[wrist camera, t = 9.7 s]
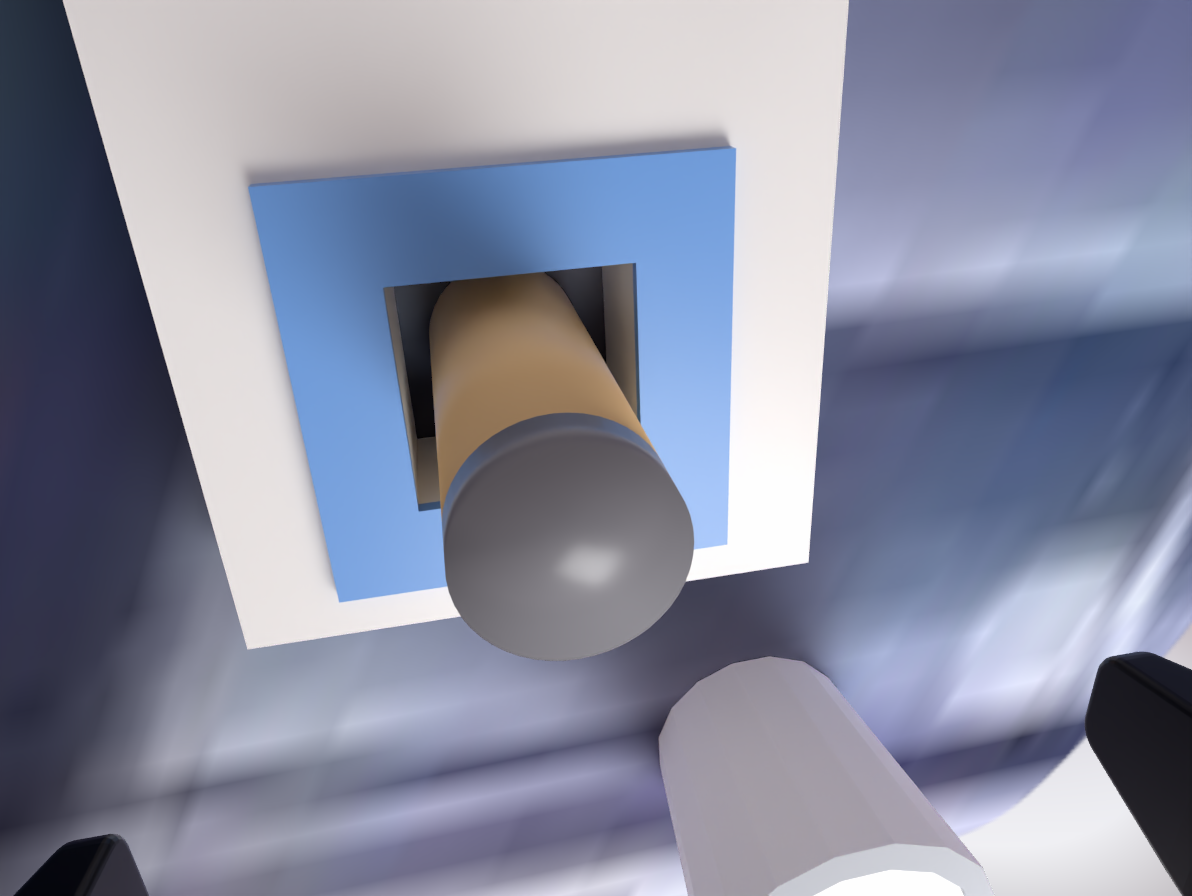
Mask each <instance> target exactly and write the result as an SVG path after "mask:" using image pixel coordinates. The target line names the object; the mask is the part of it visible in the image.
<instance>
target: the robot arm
mask: <svg viewBox="0 0 1192 896" xmlns="http://www.w3.org/2000/svg"><path fill="white" fill-rule="evenodd" d="M1085 731H1086V736H1087V738H1088V741H1089V744H1090V746H1091V748H1092V749H1093V751H1094V753H1095V754H1096V756H1097V757H1098V759H1099V761H1100V763H1101V764H1102V766H1103V768H1104V769H1105V771H1106V773H1107V774H1108V776H1109V777H1110V779H1111V780H1112V782H1113V784H1114V786H1115V787H1116V789H1117V791H1118V792H1119V794H1120V795H1121V797H1122V799H1123V801H1124V802H1125V804H1126V806H1127V807H1128V809H1129V810H1130V812H1131V814H1132V815H1133V817H1134V819H1135V820H1136V822H1137V824H1138V825H1139V827H1140V828H1141V830H1142V832H1143V833H1144V835H1145V837H1146V838H1147V840H1148V842H1149V843H1150V845H1151V847H1152V848H1153V850H1154V852H1155V853H1156V855H1157V857H1158V858H1159V860H1160V862H1161V863H1162V865H1163V866H1164V868H1165V870H1166V871H1167V873H1168V874H1169V876H1170V877H1171V879H1172V881H1173V882H1174V884H1175V885H1176V887H1177V888H1178V890H1179V891H1180V893H1181V894H1182V896H1192V670H1191V669H1189V668H1186V667H1184V666H1182V665H1179V664H1177V663H1174V662H1172V661H1170V660H1167V659H1165V658H1163V657H1160V656H1158V655H1156V654H1153V653H1149V652H1134V653H1129V654H1123V655H1117V656H1112V657H1109V658H1106V659H1105V660H1104V661H1103V662H1102V663H1101V664H1100V666H1099V668H1098V671H1097V674H1096V678H1095V682H1094V686H1093V689H1092V693H1091V697H1090V701H1089V704H1088V708H1087V712H1086V716H1085ZM14 896H149V895H148V892H147V890H146V887H145V885H144V882H143V880H142V878H141V875H140V873H139V870H138V868H137V866H136V863H135V861H134V858H133V856H132V853H131V851H130V849H129V846H128V844H127V843H126V841H125V839H124V838H122V837H121V836H120V835H118V834H108V835H102V836H97V837H91V838H85V839H80V840H74V841H71V842H69V843H66V844H65V845H63V846H62V847H61V848H59V849H58V850H57V851H56V852H55V853H54V854H53V855H52V856H51V857H50V858H49V859H48V860H47V861H46V862H45V863H44V864H43V865H42V866H41V867H40V868H39V870H38V871H37V872H36V873H35V874H34V875H33V876H32V877H31V878H30V879H29V880H28V881H27V882H26V883H25V884H24V885H23V886H22V887H21V888H20V889H19V890H18V891H17V892H16V894H15V895H14Z"/></svg>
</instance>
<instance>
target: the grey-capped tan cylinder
mask: <svg viewBox="0 0 1192 896" xmlns="http://www.w3.org/2000/svg"><path fill="white" fill-rule="evenodd" d="M429 340H430V355H431V370H432V385H433V400H434V414H435V429H436V444H437V459H438V474H439V489H440V504H441V518H442V533H443V548H444V563H445V577H446V582H447V587H448V591H449V594H450V596H451V599H452V601H453V604H454V606H455V607H456V609H457V611H458V612H459V614H460V616H461V617H462V618H463V620H464V621H465V622H466V623H467V624H468V626H469V627H470V628H471V629H472V630H473V631H475V632H476V633H477V634H478V635H479V636H480V637H482V638H483V639H485V640H486V641H488V642H489V643H491V644H492V645H494V646H496V647H498V648H500V649H502V650H504V651H506V652H509V653H512V654H515V655H518V656H522V657H526V658H531V659H537V660H547V661H566V660H574V659H582V658H586V657H591V656H595V655H598V654H601V653H604V652H607V651H610V650H612V649H615V648H617V647H619V646H621V645H624V644H625V643H627V642H629V641H631V640H632V639H634V638H636V637H638V636H639V635H640V634H642V633H643V632H644V631H646V630H647V629H649V628H650V627H651V626H652V625H653V624H654V623H655V622H656V621H658V620H659V619H660V618H661V617H662V616H663V615H664V613H665V612H666V611H667V610H668V609H669V608H670V607H671V605H672V604H673V602H674V601H675V599H676V598H677V597H678V595H679V593H680V591H681V589H682V588H683V586H684V584H685V582H686V579H687V576H688V574H689V571H690V568H691V563H692V559H693V553H694V530H693V525H692V520H691V516H690V513H689V510H688V508H687V505H686V503H685V501H684V499H683V498H682V496H681V494H680V492H679V491H678V489H677V487H676V485H675V484H674V482H673V480H672V478H671V477H670V475H669V473H668V471H667V470H666V468H665V466H664V464H663V463H662V461H661V459H660V457H659V456H658V454H657V452H656V450H655V449H654V447H653V445H652V443H651V442H650V440H649V438H648V436H647V435H646V433H645V431H644V429H643V428H642V426H641V424H640V422H639V421H638V419H637V417H636V415H635V414H634V412H633V410H632V408H631V407H630V405H629V403H628V401H627V400H626V398H625V396H624V394H623V393H622V391H621V389H620V388H619V386H618V384H617V382H616V381H615V379H614V377H613V375H612V374H611V372H610V370H609V368H608V367H607V365H606V363H605V361H604V360H603V358H602V356H601V354H600V353H599V351H598V349H597V347H596V346H595V344H594V342H593V340H592V339H591V337H590V335H589V333H588V332H587V330H586V328H585V326H584V325H583V323H582V321H581V319H580V318H579V316H578V314H577V312H576V311H575V309H574V307H573V305H572V304H571V302H570V300H569V299H568V297H567V295H566V294H565V292H564V291H563V289H562V288H561V287H560V286H559V284H558V283H557V282H555V281H554V280H553V279H552V278H551V277H550V276H548V275H547V274H546V273H544V272H536V273H526V274H516V275H506V276H496V277H486V278H475V279H465V280H455V281H452V282H451V283H450V284H449V285H448V286H447V287H446V288H445V289H444V291H443V292H442V294H441V295H440V296H439V298H438V300H437V302H436V304H435V306H434V309H433V312H432V315H431V320H430V326H429Z"/></svg>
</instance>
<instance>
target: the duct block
mask: <svg viewBox="0 0 1192 896" xmlns="http://www.w3.org/2000/svg"><path fill="white" fill-rule="evenodd" d="M63 3H64V7H65V10H66V14H67V17H68V21H69V24H70V28H71V31H72V35H73V38H74V42H75V45H76V49H77V52H78V56H79V59H80V63H81V66H82V70H83V73H84V77H85V80H86V84H87V87H88V91H89V94H90V98H91V101H92V105H93V108H94V112H95V115H96V119H97V122H98V126H99V129H100V133H101V136H102V140H103V143H104V147H105V150H106V154H107V157H108V161H109V164H110V168H111V171H112V175H113V178H114V182H115V185H116V189H117V192H118V196H119V199H120V203H121V206H122V210H123V213H124V217H125V220H126V224H127V227H128V231H129V234H130V238H131V241H132V245H133V248H134V252H135V256H136V259H137V263H138V266H139V270H140V273H141V277H142V280H143V284H144V287H145V291H146V294H147V298H148V301H149V305H150V308H151V312H152V315H153V319H154V322H155V326H156V329H157V333H158V336H159V340H160V343H161V347H162V350H163V354H164V357H165V361H166V364H167V368H168V371H169V375H170V378H171V382H172V385H173V389H174V392H175V396H176V399H177V403H178V406H179V410H180V413H181V417H182V420H183V424H184V427H185V431H186V434H187V438H188V441H189V445H190V448H191V452H192V455H193V459H194V462H195V466H196V469H197V473H198V476H199V480H200V483H201V487H202V490H203V494H204V497H205V501H206V504H207V508H208V511H209V515H210V518H211V522H212V526H213V529H214V533H215V536H216V540H217V543H218V547H219V550H220V554H221V557H222V561H223V564H224V568H225V571H226V575H227V578H228V582H229V585H230V589H231V592H232V596H233V599H234V603H235V606H236V610H237V613H238V617H239V620H240V624H241V627H242V631H243V634H244V638H245V641H246V645H247V648H248V649H253V648H260V647H266V646H273V645H279V644H286V643H292V642H299V641H305V640H312V639H318V638H324V637H331V636H337V635H344V634H350V633H357V632H363V631H370V630H376V629H383V628H389V627H395V626H402V625H408V624H415V623H421V622H428V621H434V620H441V619H447V618H454V617H460V614H459V612H458V611H457V609H456V607H455V606H454V604H453V601H452V599H451V596H450V594H449V591H448V587H447V582H446V577H445V563H444V548H443V533H442V518H441V504H440V489H439V474H438V459H437V444H436V437H428V438H420V439H417V435H416V429H415V422H414V416H413V410H412V403H411V397H410V390H409V384H408V377H407V371H406V364H405V358H404V352H403V345H402V339H401V332H400V326H399V319H398V313H397V306H396V300H395V293H394V286H404V285H414V284H425V283H435V282H445V281H455V280H465V279H475V278H486V277H496V276H506V275H516V274H526V273H536V272H547V271H557V270H567V269H577V268H587V267H597V266H602V278H603V300H604V321H605V343H606V365H607V367H608V368H609V370H610V372H611V374H612V375H613V377H614V379H615V381H616V382H617V384H618V386H619V388H620V389H621V391H622V393H623V394H624V396H625V398H626V400H627V401H628V403H629V405H630V407H631V408H632V410H633V412H634V414H635V415H636V417H637V419H638V421H639V422H640V424H641V426H642V428H643V429H644V431H645V433H646V435H647V436H648V438H649V440H650V442H651V443H652V445H653V447H654V449H655V450H656V452H657V454H658V456H659V457H660V459H661V461H662V463H663V464H664V466H665V468H666V470H667V471H668V473H669V475H670V477H671V478H672V480H673V482H674V484H675V485H676V487H677V489H678V491H679V492H680V494H681V496H682V498H683V499H684V501H685V503H686V505H687V508H688V510H689V513H690V516H691V520H692V525H693V530H694V553H693V559H692V563H691V568H690V571H689V574H688V576H687V579H686V581H692V580H699V579H705V578H712V577H718V576H725V575H731V574H737V573H744V572H750V571H757V570H763V569H770V568H776V567H783V566H789V565H795V564H802V563H808V560H809V546H810V533H811V519H812V505H813V491H814V477H815V463H816V449H817V435H818V421H819V408H820V394H821V380H822V366H823V352H824V338H825V324H826V310H827V296H828V282H829V269H830V255H831V241H832V227H833V213H834V199H835V185H836V171H837V157H838V144H839V130H840V116H841V102H842V88H843V74H844V60H845V46H846V32H847V18H848V5H849V0H63Z"/></svg>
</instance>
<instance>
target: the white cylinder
mask: <svg viewBox="0 0 1192 896" xmlns="http://www.w3.org/2000/svg"><path fill="white" fill-rule="evenodd" d="M659 756H660V768H661V772H662V777H663V782H664V786H665V791H666V795H667V800H668V805H669V809H670V814H671V818H672V823H673V828H674V832H675V837H676V842H677V846H678V851H679V855H680V860H681V865H682V869H683V874H684V878H685V883H686V888H687V892H688V896H995V894H994V892H993V890H992V887H991V885H990V883H989V881H988V878H987V876H986V874H985V871H984V869H983V867H982V866H981V865H980V864H979V863H978V861H977V860H976V859H975V858H974V856H973V855H972V854H971V853H970V851H969V850H968V849H967V848H966V847H965V845H964V844H963V843H962V842H961V840H960V839H959V838H958V837H957V835H956V834H955V833H954V832H953V830H952V829H951V828H950V827H949V826H948V824H947V823H946V822H945V821H944V819H943V818H942V817H941V816H940V815H939V813H938V812H937V811H936V810H935V808H934V807H933V806H932V805H931V803H930V802H929V801H928V800H927V799H926V797H925V796H924V795H923V794H922V792H921V791H920V790H919V789H918V787H917V786H916V785H915V784H914V783H913V781H912V780H911V779H910V778H909V776H908V775H907V774H906V773H905V771H904V770H903V769H902V768H901V767H900V765H899V764H898V763H897V762H896V760H895V759H894V758H893V757H892V756H891V754H890V753H889V752H888V751H887V749H886V748H885V747H884V746H883V744H882V743H881V742H880V741H879V740H878V738H877V737H876V736H875V735H874V733H873V732H872V731H871V730H870V728H869V727H868V726H867V725H866V724H865V722H864V721H863V720H862V719H861V717H860V716H859V715H858V714H857V713H856V711H855V710H854V709H853V708H852V706H851V705H850V704H849V703H848V701H847V700H846V699H845V698H844V697H843V695H842V694H841V693H840V692H839V690H838V689H837V688H836V687H835V685H834V684H833V683H832V682H831V681H830V679H829V678H828V677H827V676H825V675H824V674H822V673H820V672H819V671H817V670H816V669H814V668H813V667H811V666H810V665H808V664H807V663H805V662H804V661H798V660H791V659H784V658H778V657H771V656H769V657H763V658H758V659H753V660H748V661H743V662H737V663H732V664H730V665H728V666H727V667H725V668H723V669H721V670H719V671H717V672H715V673H713V674H711V675H710V676H708V677H706V678H704V679H702V680H700V681H698V682H697V683H696V684H695V685H694V686H693V687H692V688H691V689H690V690H689V691H688V692H687V693H686V694H685V695H684V696H683V697H682V698H681V699H680V700H679V701H678V702H677V703H676V704H675V705H674V706H673V707H672V708H671V710H670V713H669V715H668V717H667V720H666V722H665V724H664V726H663V729H662V731H661V733H660V736H659Z"/></svg>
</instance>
